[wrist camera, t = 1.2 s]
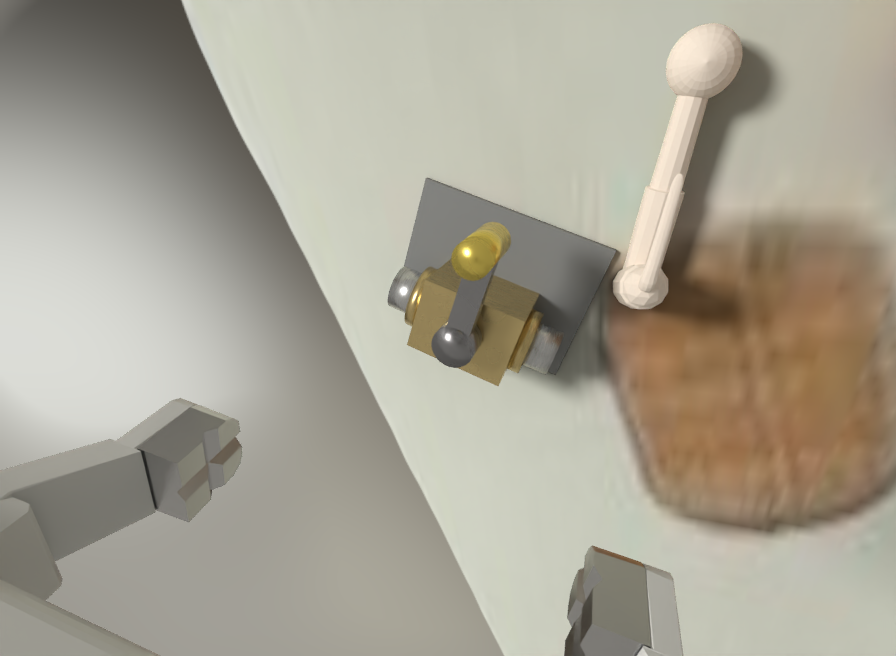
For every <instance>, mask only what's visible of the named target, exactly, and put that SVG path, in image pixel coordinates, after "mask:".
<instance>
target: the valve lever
mask: <svg viewBox="0 0 896 656" xmlns="http://www.w3.org/2000/svg"><path fill="white" fill-rule="evenodd" d="M510 245H511V236H510V233H509V231H508V230H507V228H506V227H505V226H503V225H502V224H500V223H497V222H488V223H485V224H484V225H482V226H481V227H480V228H478V229H477V230H476V231H475V232H473V233H472V234H471V235H469V236H468V237H467V238H466V239H464V240H463V241H462V242H460V243H459V244H458V245H457V246H456V247H455V248H454V250H453V252H452V256H451V261H452V266H453V268H454V270H455V272H456V273H457V274H458V275H459V276H460V277H462V279H461V282H460V285H459V288H458V291H457V294H456V297H455V300H454V304H453V307H452V310H451V313H450V316H449V319H448V320H447V321H446V322H445V323H444V324H443V325H442V326H441V327H440V329H439V330H438V331H437V332H436V333H435V334H434V336H433V338H432V343H431V346H432V351H433V353H434V355H435V357H436V358H437V359H438V360H439V361H440V362H441V363H443V364H444V365H446V366H449V367H454V368H458V367H463V366H465V365H467V364H468V363H469V362H470V361H471V359H472V357H473V356H474V354H475V353H476V351H477V350H478V348H479V347H480V345H481V342H482V333H481V330H480V328H479V327H478V325H477V321H478V318H479V315H480V312H481V310H482V307H483V304H484V301H485V298H486V296H487V293H488V290H489V287H490V284H491V282H492V279H493V276H494V273H495V271H496V268H497V265H498V262H499V260H500V259H501V258H502V257H503V256H504V255H505V253H506V252H507V251H508V250H509V248H510Z"/></svg>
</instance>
